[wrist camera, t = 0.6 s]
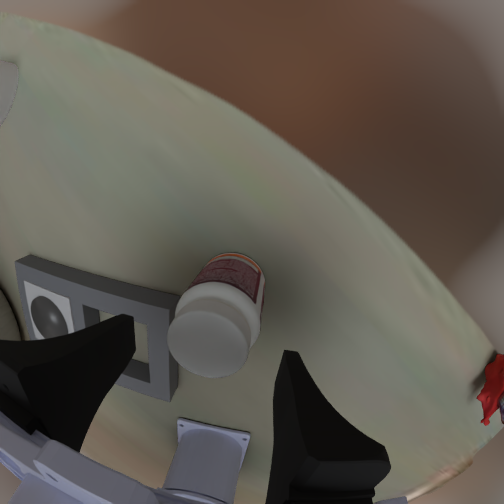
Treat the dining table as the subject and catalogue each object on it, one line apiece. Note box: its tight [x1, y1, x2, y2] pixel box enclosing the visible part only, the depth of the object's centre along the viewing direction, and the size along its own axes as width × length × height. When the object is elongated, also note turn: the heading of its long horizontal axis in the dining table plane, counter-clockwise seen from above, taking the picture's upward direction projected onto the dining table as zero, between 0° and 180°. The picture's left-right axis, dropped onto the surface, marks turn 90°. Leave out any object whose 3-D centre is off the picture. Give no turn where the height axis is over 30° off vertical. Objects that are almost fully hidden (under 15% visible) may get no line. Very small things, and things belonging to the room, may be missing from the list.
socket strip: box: [15, 255, 180, 402], centre depth 22 cm, size 10×18×3 cm, turn 81°
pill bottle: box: [167, 253, 265, 378], centre depth 16 cm, size 5×5×8 cm
